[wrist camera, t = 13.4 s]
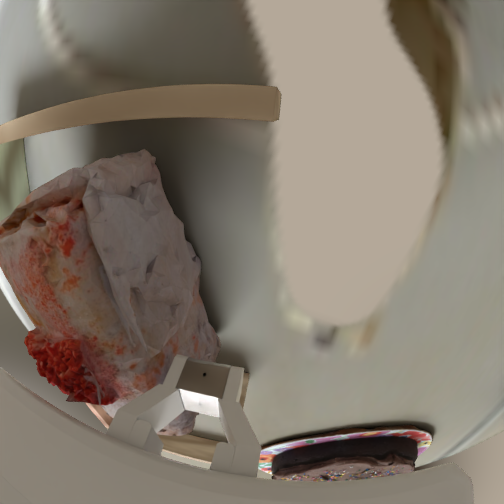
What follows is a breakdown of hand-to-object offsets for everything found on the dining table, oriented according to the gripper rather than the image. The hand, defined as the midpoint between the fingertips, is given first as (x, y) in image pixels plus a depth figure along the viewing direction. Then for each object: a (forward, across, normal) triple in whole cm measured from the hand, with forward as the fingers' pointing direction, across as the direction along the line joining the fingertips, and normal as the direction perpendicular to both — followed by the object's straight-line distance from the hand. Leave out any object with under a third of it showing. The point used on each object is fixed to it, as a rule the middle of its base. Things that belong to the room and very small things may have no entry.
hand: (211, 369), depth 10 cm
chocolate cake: (+7, -17, +32) cm, 36 cm away
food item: (+6, +5, -1) cm, 8 cm away
